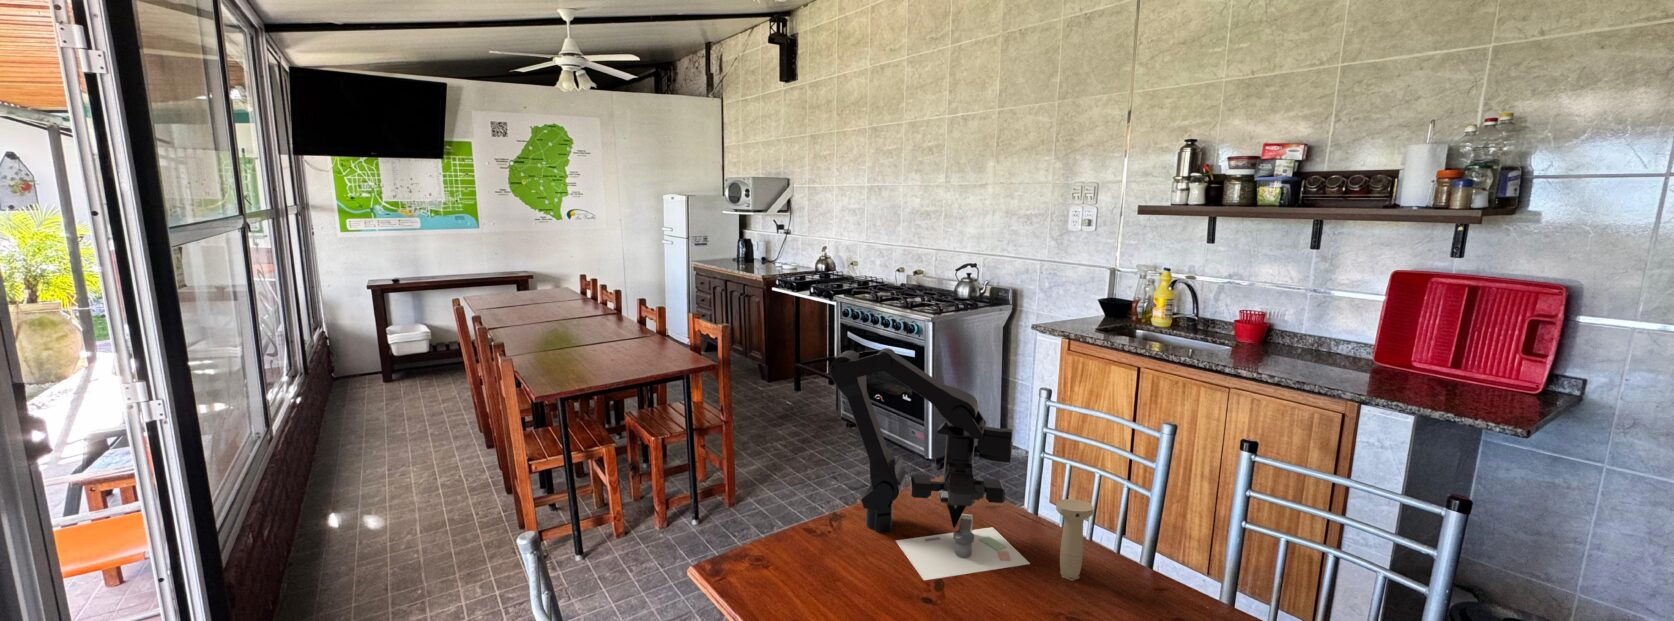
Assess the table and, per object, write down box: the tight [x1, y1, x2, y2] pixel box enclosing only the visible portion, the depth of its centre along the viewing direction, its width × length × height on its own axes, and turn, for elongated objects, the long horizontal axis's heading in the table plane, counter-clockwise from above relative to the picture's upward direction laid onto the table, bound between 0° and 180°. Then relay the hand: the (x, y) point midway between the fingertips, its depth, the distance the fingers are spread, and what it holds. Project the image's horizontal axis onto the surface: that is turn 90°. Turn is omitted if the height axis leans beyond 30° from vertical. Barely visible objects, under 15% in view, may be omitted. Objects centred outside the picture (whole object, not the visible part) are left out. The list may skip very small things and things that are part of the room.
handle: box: [1055, 498, 1094, 581], centre depth 128 cm, size 5×6×15 cm
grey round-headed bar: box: [953, 513, 974, 557], centre depth 139 cm, size 11×4×4 cm, turn 166°
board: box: [895, 526, 1031, 581], centre depth 137 cm, size 15×22×1 cm
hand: (953, 526), depth 143 cm, fingers closed
